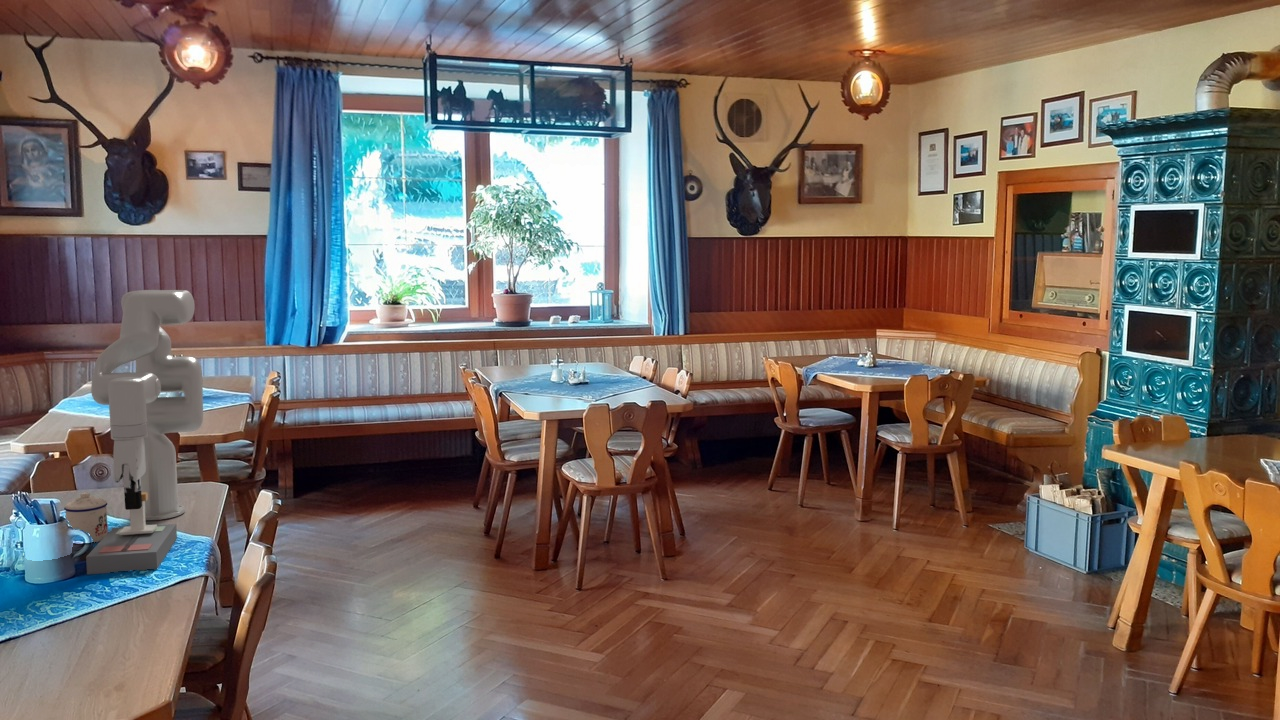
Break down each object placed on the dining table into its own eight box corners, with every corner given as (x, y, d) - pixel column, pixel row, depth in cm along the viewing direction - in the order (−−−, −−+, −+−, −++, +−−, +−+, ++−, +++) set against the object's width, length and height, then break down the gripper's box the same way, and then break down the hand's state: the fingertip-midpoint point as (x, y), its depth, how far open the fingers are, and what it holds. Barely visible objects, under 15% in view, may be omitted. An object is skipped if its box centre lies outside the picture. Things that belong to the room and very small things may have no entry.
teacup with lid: (104, 543, 229) (101, 496, 228) (61, 546, 227) (58, 499, 225) (116, 529, 241) (113, 484, 239) (75, 532, 238) (72, 486, 237)
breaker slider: (124, 528, 226) (122, 492, 225) (157, 526, 228) (155, 490, 227) (119, 535, 221) (117, 497, 220) (152, 532, 223) (150, 495, 222)
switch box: (113, 544, 229) (112, 527, 228) (177, 539, 233) (176, 523, 232) (87, 574, 208) (85, 556, 207) (157, 569, 212) (156, 551, 211)
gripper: (119, 425, 224) (124, 501, 227) (102, 438, 210) (107, 518, 212) (154, 424, 226) (158, 499, 229) (139, 436, 212) (144, 516, 214)
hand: (133, 508), depth 221 cm, fingers closed
